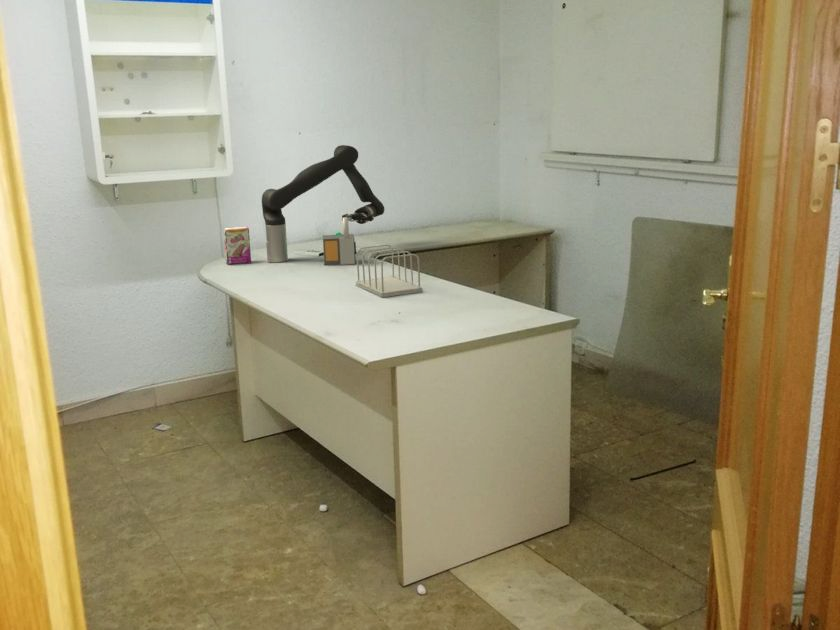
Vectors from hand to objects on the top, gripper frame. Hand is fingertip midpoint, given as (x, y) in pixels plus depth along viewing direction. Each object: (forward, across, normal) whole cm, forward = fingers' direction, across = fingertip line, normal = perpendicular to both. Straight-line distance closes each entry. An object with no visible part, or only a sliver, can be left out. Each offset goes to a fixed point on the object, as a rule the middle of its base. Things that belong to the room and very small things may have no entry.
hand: (353, 219), depth 376 cm
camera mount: (-13, -12, +19) cm, 26 cm away
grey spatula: (+11, 0, +18) cm, 21 cm away
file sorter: (+55, +31, +19) cm, 66 cm away
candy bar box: (+14, -52, +19) cm, 57 cm away
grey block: (+7, -5, +19) cm, 21 cm away
